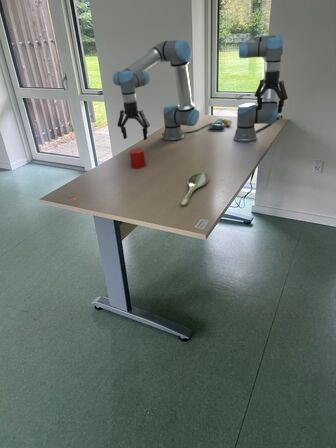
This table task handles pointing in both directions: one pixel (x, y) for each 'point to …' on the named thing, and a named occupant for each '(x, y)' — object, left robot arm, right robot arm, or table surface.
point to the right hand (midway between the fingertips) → (269, 111)
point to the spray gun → (220, 124)
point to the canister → (137, 158)
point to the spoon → (195, 184)
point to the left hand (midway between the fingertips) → (135, 138)
